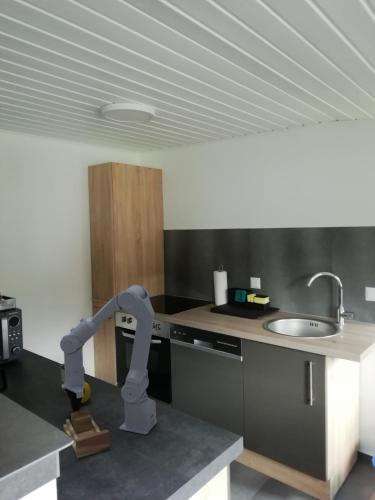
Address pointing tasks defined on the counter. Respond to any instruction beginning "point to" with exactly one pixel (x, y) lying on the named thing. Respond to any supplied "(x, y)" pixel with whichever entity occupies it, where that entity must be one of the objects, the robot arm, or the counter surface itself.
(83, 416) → the block
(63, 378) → the food container
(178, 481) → the counter surface
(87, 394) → the lemon
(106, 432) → the track
